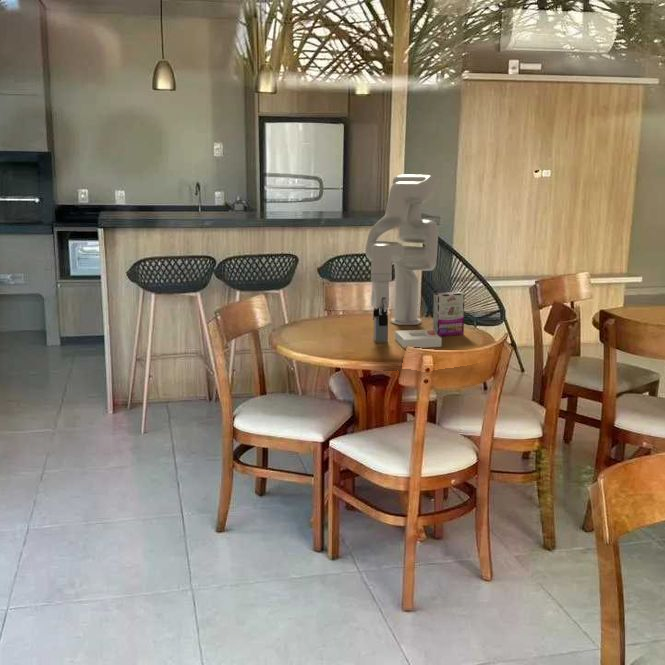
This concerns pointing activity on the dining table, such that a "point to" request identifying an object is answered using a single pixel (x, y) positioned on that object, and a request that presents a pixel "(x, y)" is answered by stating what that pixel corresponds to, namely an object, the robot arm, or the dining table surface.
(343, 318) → the dining table surface
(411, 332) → the socket plate
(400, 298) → the robot arm
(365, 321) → the dining table surface
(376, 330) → the plug
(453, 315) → the candy bar box
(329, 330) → the dining table surface
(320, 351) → the dining table surface
